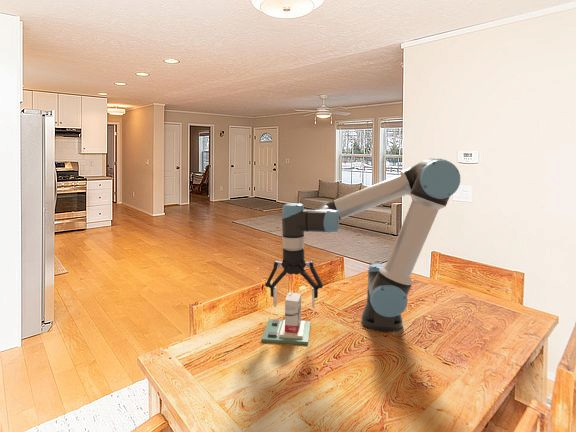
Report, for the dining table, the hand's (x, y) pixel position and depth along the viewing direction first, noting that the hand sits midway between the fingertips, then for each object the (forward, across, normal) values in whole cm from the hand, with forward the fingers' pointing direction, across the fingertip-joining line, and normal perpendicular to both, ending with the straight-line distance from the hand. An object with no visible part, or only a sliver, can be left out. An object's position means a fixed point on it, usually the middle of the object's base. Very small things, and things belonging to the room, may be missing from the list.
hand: (294, 305), depth 136 cm
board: (+10, +3, 0) cm, 11 cm away
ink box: (+8, +1, 0) cm, 9 cm away
